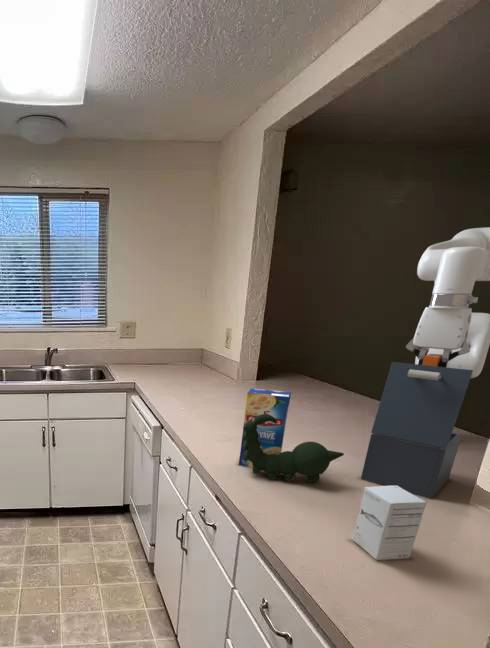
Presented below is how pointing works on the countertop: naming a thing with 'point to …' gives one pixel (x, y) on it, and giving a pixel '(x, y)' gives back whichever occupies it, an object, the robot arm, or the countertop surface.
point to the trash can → (409, 464)
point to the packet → (432, 359)
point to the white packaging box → (388, 522)
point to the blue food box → (268, 431)
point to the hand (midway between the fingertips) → (429, 375)
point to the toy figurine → (285, 455)
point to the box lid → (421, 403)
